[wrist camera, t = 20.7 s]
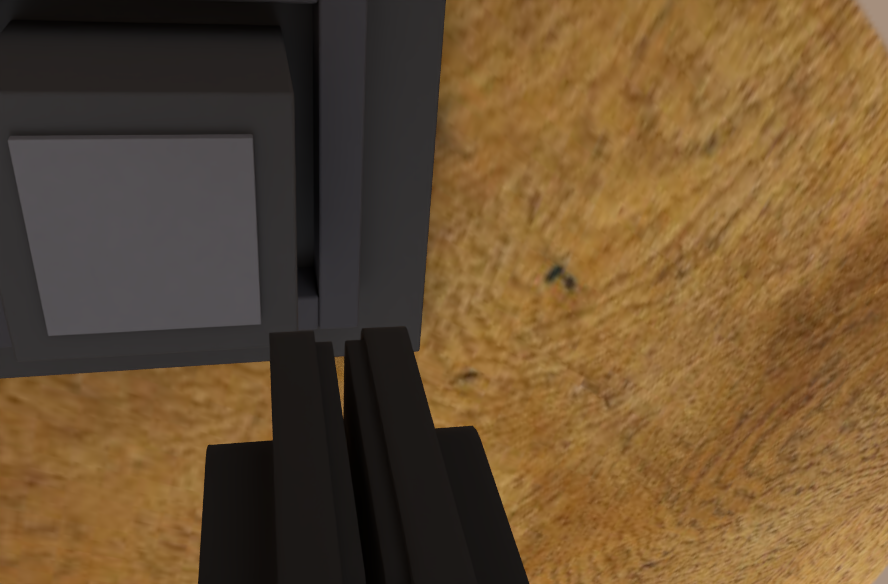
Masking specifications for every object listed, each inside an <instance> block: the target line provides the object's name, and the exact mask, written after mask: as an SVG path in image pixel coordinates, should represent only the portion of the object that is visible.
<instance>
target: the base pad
mask: <svg viewBox="0 0 888 584" xmlns="http://www.w3.org/2000/svg"><path fill="white" fill-rule="evenodd" d="M445 4H446V0H0V33H1V32H2V30H3V29H4V28H5V27H6V25H7V24H8V23H9V22H10V21H12V20H40V21H87V22H134V23H181V24H229V25H276V26H280V27H281V30H282V35H283V40H284V45H285V51H286V56H287V61H288V66H289V72H290V77H291V82H292V87H293V92H294V113H295V170H296V228H297V286H298V331H314V335H315V342H328V341H332V345H333V351H334V357H339V356H344V350H345V341H348V340H360V337H361V330H362V328H376V327H397V326H405V327H406V328H407V330H408V333H409V337H410V340H411V344H412V348H413V351H414V352H416V351H419V349H420V336H421V323H422V309H423V296H424V283H425V270H426V256H427V243H428V230H429V217H430V203H431V190H432V177H433V163H434V150H435V137H436V124H437V110H438V97H439V84H440V71H441V57H442V44H443V31H444V18H445ZM262 361H270V347H261V348H245V349H228V350H212V351H196V352H179V353H163V354H146V355H130V356H114V357H97V358H81V359H64V360H48V361H31V362H17V361H16V359H15V356H14V352H13V347H12V343H11V339H10V335H9V330H8V326H7V322H6V318H5V314H4V309H3V305H2V301H1V297H0V378H15V377H30V376H46V375H61V374H76V373H92V372H107V371H123V370H138V369H154V368H169V367H185V366H200V365H215V364H231V363H246V362H262Z"/></svg>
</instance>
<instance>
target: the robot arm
mask: <svg viewBox="0 0 888 584" xmlns="http://www.w3.org/2000/svg"><path fill="white" fill-rule="evenodd" d="M269 343H270V371H271V400H272V428H273V440H272V441H258V442H244V443H231V444H217V445H208V447H207V451H206V463H205V479H204V496H203V512H202V528H201V545H200V561H199V578H198V584H529V581H528V578H527V575H526V572H525V569H524V567H523V564H522V561H521V558H520V555H519V552H518V549H517V546H516V543H515V540H514V537H513V534H512V531H511V528H510V525H509V522H508V519H507V516H506V513H505V510H504V507H503V504H502V501H501V498H500V496H499V493H498V490H497V487H496V484H495V481H494V478H493V475H492V472H491V469H490V466H489V463H488V460H487V457H486V454H485V451H484V448H483V445H482V442H481V439H480V437H479V435H478V432H477V430H476V429H475V428H474V427H473V426H463V427H449V428H435V427H434V424H433V420H432V417H431V413H430V409H429V406H428V402H427V398H426V395H425V391H424V388H423V384H422V380H421V377H420V373H419V369H418V366H417V362H416V359H415V355H414V351H413V348H412V344H411V340H410V337H409V333H408V330H407V328H406V327H405V326H397V327H376V328H362V330H361V337H360V340H348V341H345V350H344V416H343V415H342V408H341V401H340V394H339V387H338V379H337V372H336V365H335V358H334V351H333V345H332V341H328V342H315V335H314V331H293V332H272V333H269Z"/></svg>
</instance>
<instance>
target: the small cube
mask: <svg viewBox="0 0 888 584" xmlns="http://www.w3.org/2000/svg"><path fill="white" fill-rule="evenodd" d="M0 297H1V301H2V305H3V309H4V314H5V318H6V322H7V326H8V330H9V335H10V339H11V343H12V347H13V352H14V356H15V359H16V361H17V362H31V361H48V360H64V359H81V358H97V357H114V356H130V355H146V354H163V353H179V352H196V351H212V350H228V349H245V348H261V347H270V343H269V333H272V332H293V331H298V286H297V228H296V170H295V113H294V92H293V87H292V82H291V77H290V72H289V66H288V61H287V56H286V51H285V45H284V40H283V35H282V30H281V27H280V26H276V25H229V24H181V23H134V22H87V21H40V20H12V21H10V22H9V23H8V24H7V25H6V27H5V28H4V29H3V30H2V32H1V33H0Z"/></svg>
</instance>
